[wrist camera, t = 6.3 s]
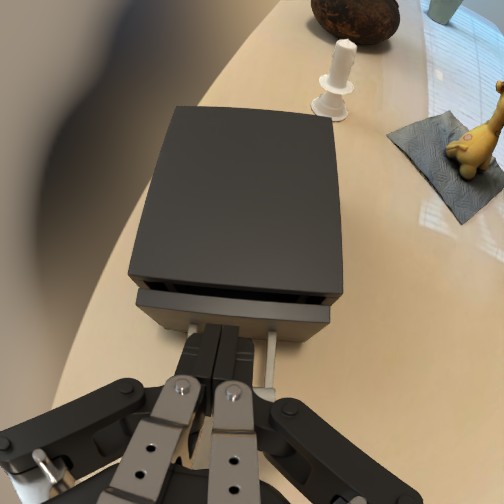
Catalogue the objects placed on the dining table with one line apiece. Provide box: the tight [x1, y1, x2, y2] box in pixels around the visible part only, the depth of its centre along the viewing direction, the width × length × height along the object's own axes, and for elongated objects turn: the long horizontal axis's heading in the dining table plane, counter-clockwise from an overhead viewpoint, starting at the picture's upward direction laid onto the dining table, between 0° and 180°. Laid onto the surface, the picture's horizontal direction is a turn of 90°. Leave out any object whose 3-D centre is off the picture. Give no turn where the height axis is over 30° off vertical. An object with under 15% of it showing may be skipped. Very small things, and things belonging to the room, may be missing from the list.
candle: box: [311, 39, 357, 121], centre depth 36 cm, size 5×5×12 cm
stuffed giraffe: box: [387, 81, 504, 225], centre depth 32 cm, size 16×18×16 cm
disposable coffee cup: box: [428, 0, 463, 25], centre depth 58 cm, size 11×11×15 cm
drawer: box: [136, 283, 330, 402], centre depth 26 cm, size 20×13×9 cm, turn 175°
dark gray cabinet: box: [128, 106, 343, 306], centre depth 28 cm, size 16×14×11 cm
